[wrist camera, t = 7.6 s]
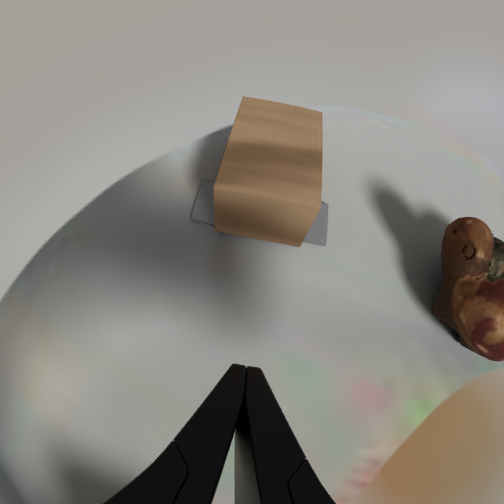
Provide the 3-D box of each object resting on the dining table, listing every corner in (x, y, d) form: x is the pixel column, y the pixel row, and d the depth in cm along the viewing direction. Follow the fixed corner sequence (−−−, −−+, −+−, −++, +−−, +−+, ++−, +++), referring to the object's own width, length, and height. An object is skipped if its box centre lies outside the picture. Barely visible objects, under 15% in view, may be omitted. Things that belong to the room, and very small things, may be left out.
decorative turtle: (416, 218, 23) (475, 171, 16) (501, 305, 22) (557, 284, 14) (381, 310, 19) (461, 278, 12) (481, 389, 18) (547, 382, 11)
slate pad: (324, 246, 21) (326, 244, 21) (190, 220, 21) (190, 218, 21) (327, 205, 22) (328, 203, 22) (202, 181, 22) (202, 179, 22)
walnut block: (320, 208, 16) (322, 112, 19) (213, 187, 16) (243, 96, 19) (299, 246, 20) (307, 155, 24) (214, 231, 20) (238, 141, 24)
